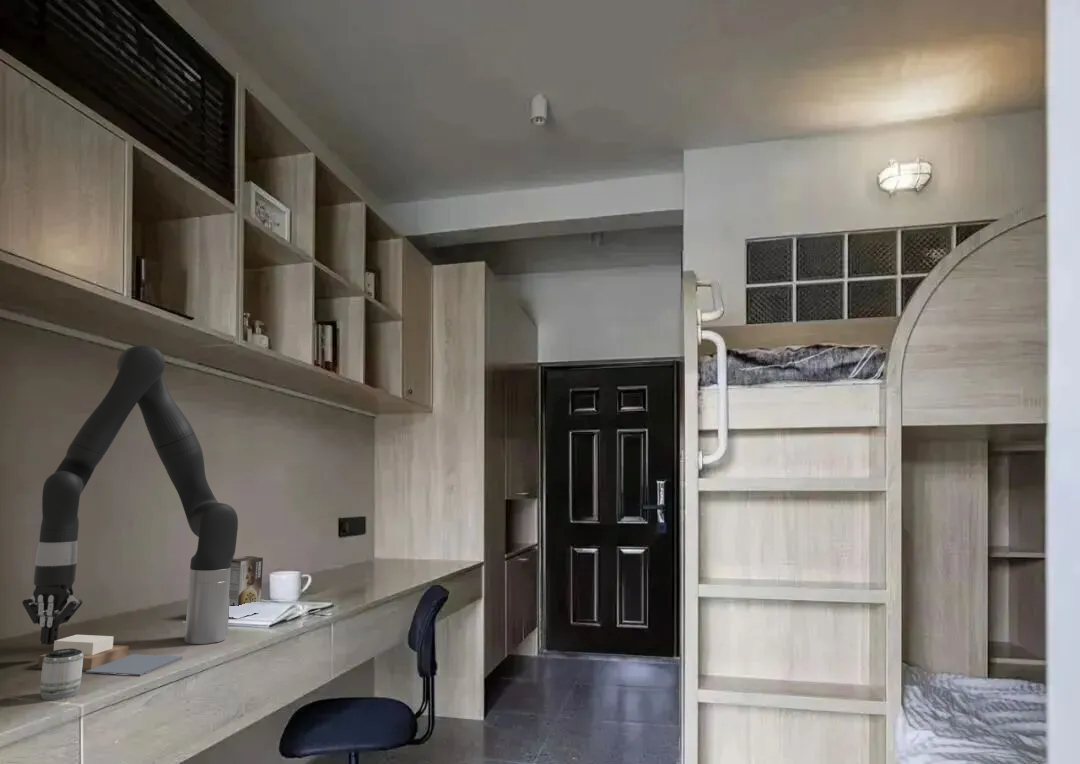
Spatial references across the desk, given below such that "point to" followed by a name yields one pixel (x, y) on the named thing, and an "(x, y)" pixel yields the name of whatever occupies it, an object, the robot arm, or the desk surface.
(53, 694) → the camera lens
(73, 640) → the white box
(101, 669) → the mat
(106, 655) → the plate
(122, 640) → the desk surface
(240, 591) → the coffee box
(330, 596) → the desk surface
